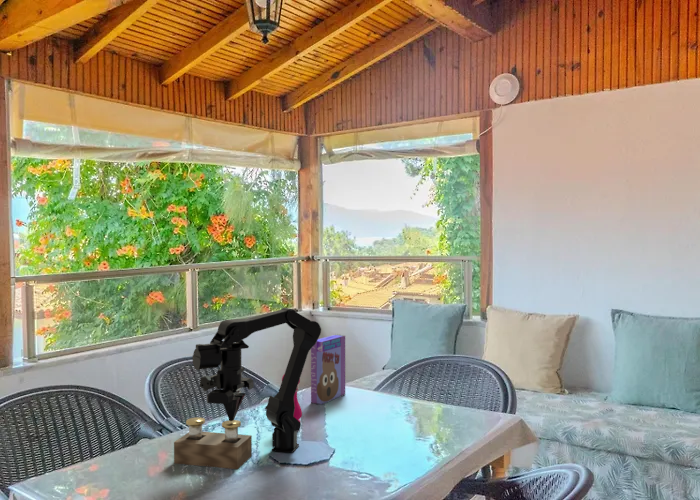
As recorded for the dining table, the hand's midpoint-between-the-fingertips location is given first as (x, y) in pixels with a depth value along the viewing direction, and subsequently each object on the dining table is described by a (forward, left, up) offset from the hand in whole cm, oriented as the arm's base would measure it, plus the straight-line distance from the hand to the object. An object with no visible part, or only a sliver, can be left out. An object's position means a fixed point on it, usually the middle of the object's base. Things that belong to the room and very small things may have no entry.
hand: (231, 420), depth 168 cm
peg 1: (+11, 0, -8) cm, 13 cm away
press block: (+6, 0, -12) cm, 13 cm away
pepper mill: (-6, -33, -12) cm, 36 cm away
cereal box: (-9, -70, -12) cm, 72 cm away
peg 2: (0, 0, -8) cm, 8 cm away
